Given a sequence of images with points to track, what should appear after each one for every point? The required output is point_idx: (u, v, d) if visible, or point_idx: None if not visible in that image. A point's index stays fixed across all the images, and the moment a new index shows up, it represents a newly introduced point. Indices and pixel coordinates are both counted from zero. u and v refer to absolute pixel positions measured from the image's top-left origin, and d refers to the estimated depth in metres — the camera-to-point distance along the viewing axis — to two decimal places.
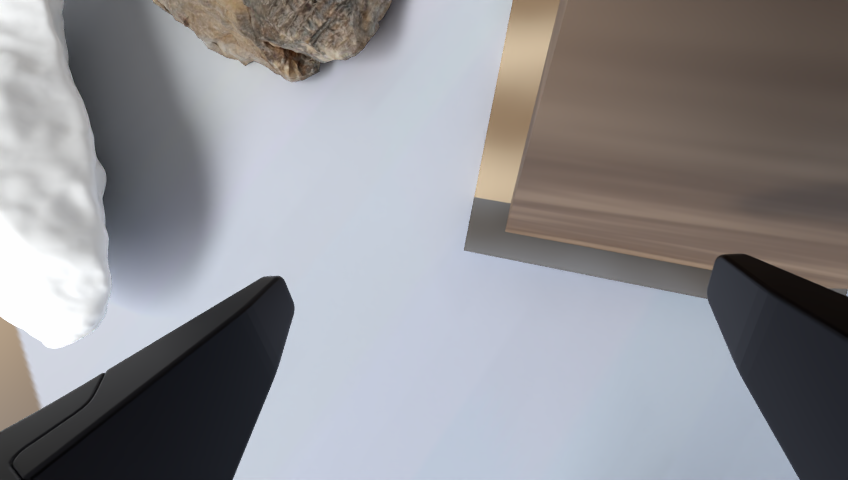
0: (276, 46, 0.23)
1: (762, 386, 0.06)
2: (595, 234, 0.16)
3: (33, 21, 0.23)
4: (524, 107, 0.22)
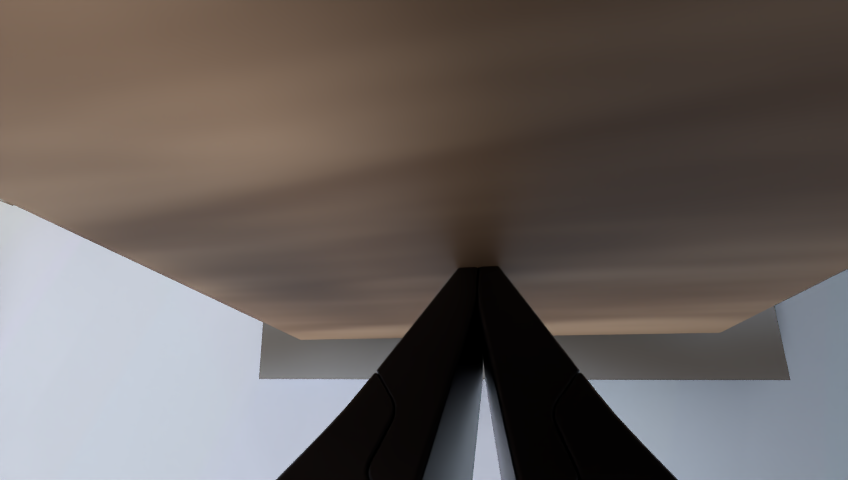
0: None
1: (486, 385, 0.07)
2: (342, 296, 0.10)
3: None
4: None
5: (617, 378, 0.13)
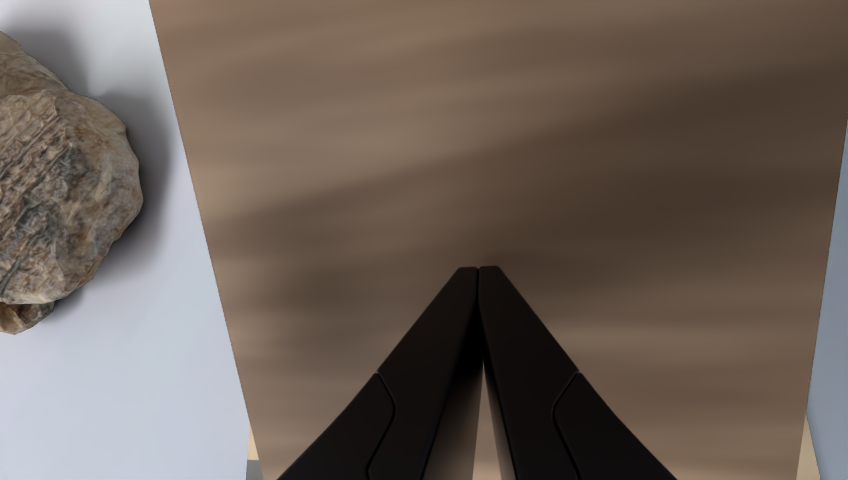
0: None
1: (486, 385, 0.07)
2: (354, 369, 0.11)
3: None
4: None
5: None
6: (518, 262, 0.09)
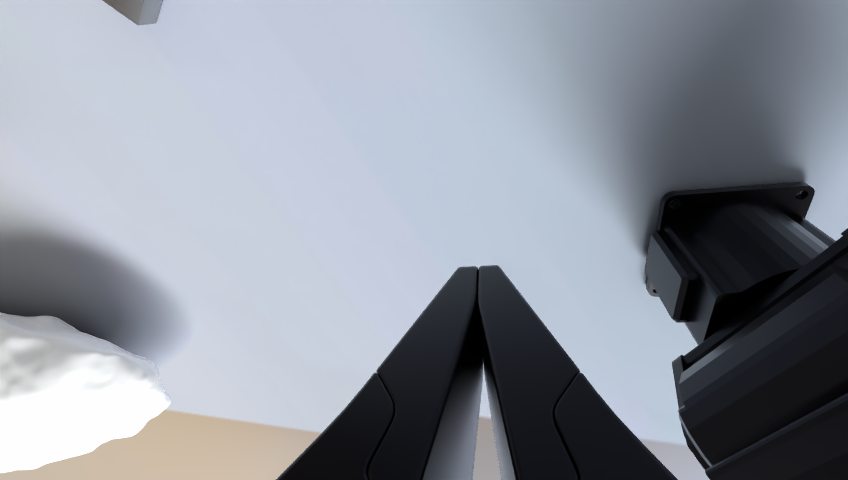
0: None
1: (486, 385, 0.07)
2: None
3: None
4: None
5: None
6: None
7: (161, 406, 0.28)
